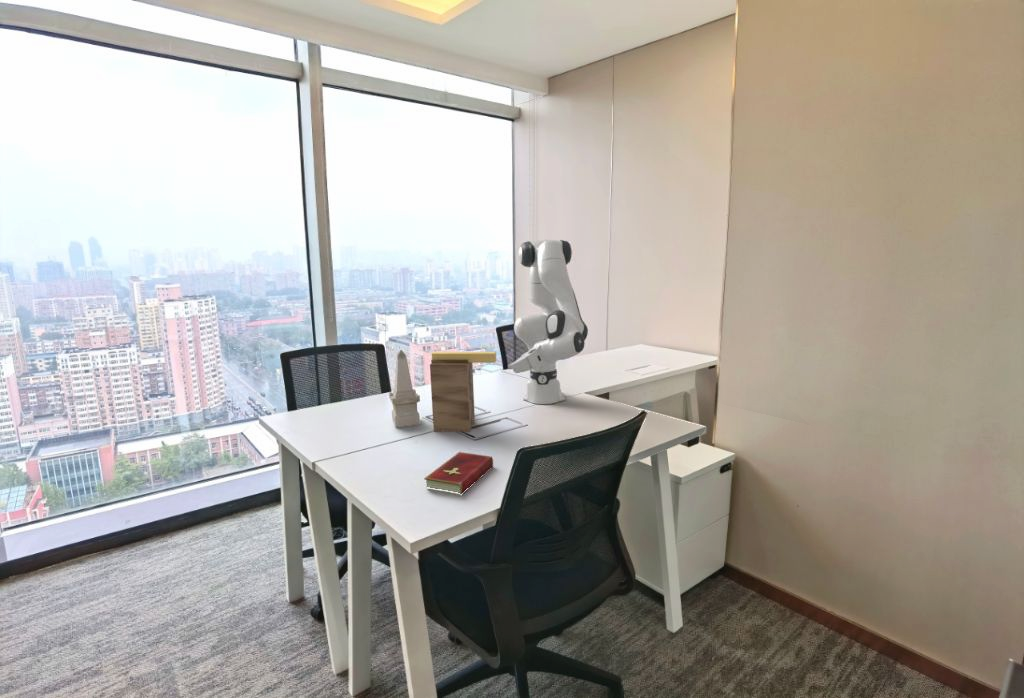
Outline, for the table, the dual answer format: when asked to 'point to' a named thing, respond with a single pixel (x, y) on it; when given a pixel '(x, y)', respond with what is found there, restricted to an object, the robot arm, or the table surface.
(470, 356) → the yellow wooden bar
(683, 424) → the table surface
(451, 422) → the stand
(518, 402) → the table surface
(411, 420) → the miniature monument
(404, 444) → the table surface
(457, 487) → the hardcover book
